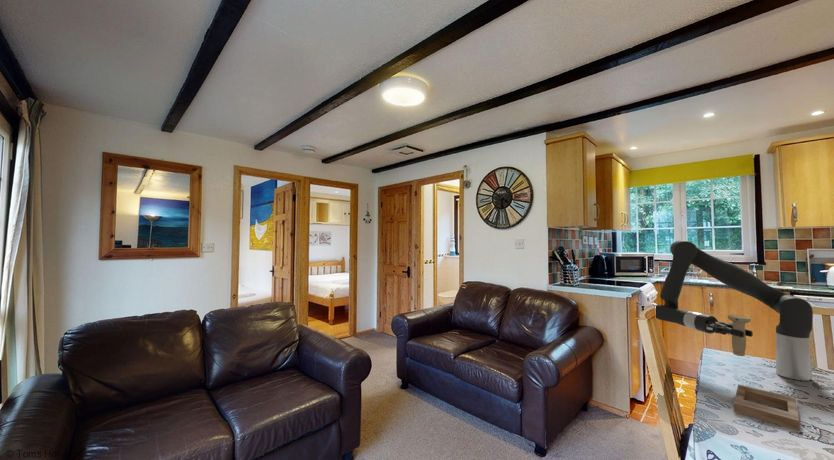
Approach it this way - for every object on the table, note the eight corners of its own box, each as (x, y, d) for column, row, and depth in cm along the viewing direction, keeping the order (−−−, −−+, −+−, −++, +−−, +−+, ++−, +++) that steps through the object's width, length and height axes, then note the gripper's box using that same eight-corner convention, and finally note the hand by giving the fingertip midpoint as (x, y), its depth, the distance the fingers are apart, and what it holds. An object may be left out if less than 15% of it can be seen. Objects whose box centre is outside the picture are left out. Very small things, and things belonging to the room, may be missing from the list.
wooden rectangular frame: (738, 392, 121) (738, 384, 121) (795, 407, 111) (795, 398, 111) (734, 411, 108) (734, 402, 108) (799, 430, 98) (799, 420, 98)
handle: (748, 359, 123) (748, 319, 123) (725, 353, 129) (725, 315, 129) (752, 356, 126) (752, 317, 126) (730, 351, 131) (730, 314, 131)
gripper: (687, 314, 140) (733, 325, 123) (712, 312, 143) (761, 323, 126) (687, 331, 140) (733, 345, 123) (712, 329, 143) (761, 342, 126)
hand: (747, 334), depth 125 cm, fingers closed on handle, 3 cm apart
